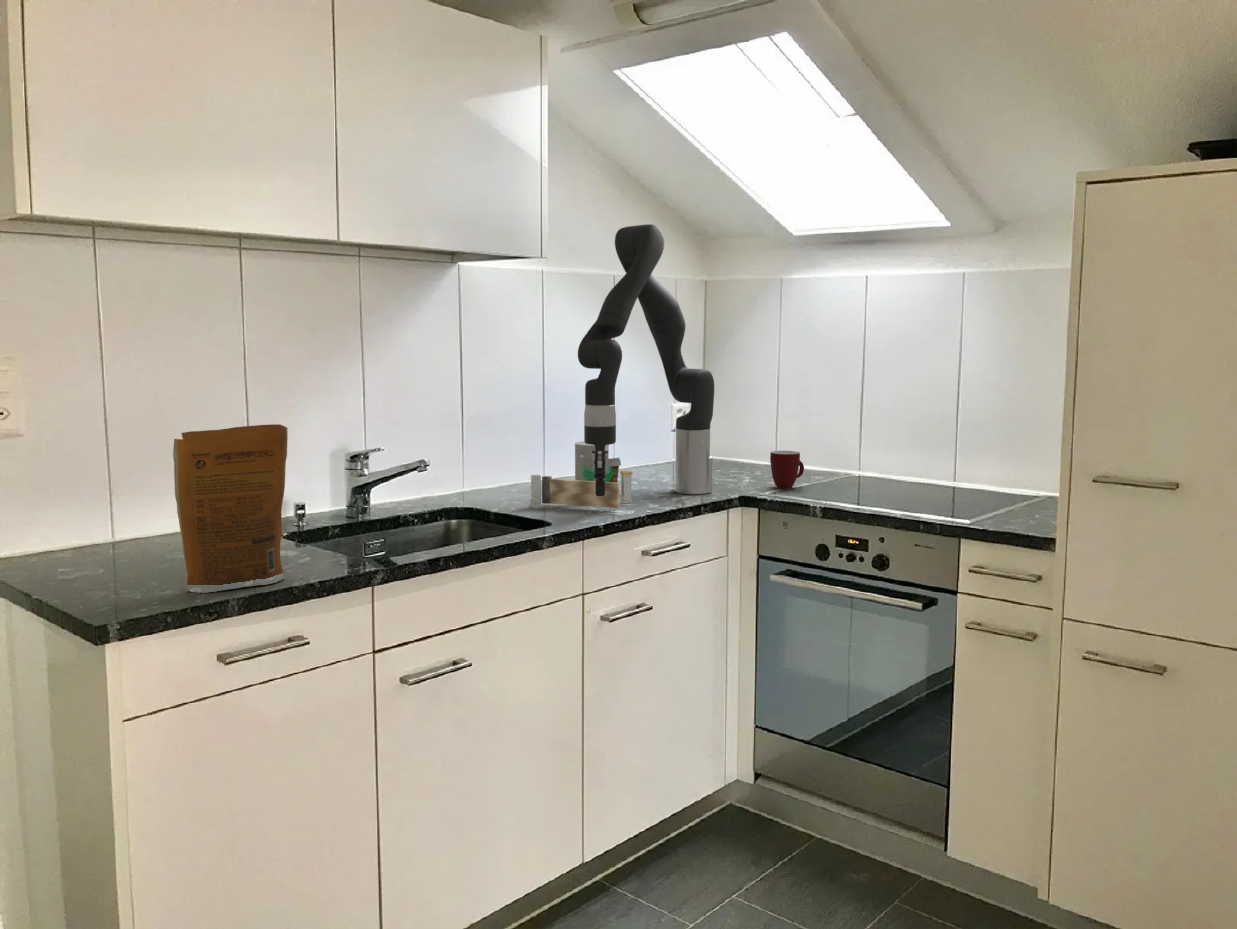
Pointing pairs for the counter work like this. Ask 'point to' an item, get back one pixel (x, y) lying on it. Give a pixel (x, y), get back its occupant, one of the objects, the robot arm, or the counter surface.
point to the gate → (579, 493)
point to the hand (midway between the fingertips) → (600, 495)
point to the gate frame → (537, 505)
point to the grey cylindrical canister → (584, 455)
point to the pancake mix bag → (231, 502)
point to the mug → (785, 468)
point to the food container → (589, 473)
